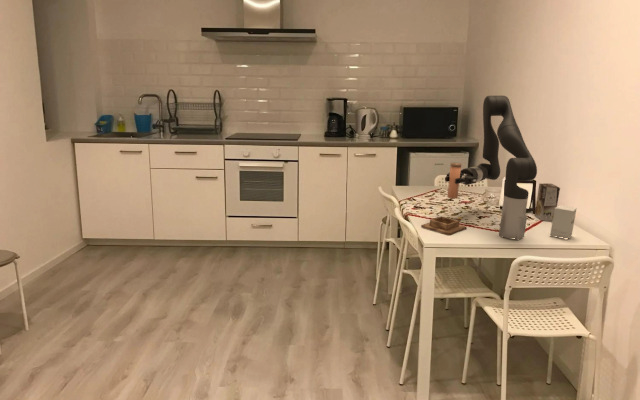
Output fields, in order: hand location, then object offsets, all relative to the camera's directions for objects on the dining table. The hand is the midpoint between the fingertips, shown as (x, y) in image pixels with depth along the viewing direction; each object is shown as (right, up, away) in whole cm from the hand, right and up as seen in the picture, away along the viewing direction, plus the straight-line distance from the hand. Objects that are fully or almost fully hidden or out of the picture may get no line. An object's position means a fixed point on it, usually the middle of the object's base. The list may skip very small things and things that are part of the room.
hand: (451, 180), depth 227 cm
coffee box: (+50, -17, +20) cm, 56 cm away
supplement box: (+45, -24, -6) cm, 52 cm away
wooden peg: (+2, -7, +4) cm, 8 cm away
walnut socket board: (-3, -21, -1) cm, 21 cm away
